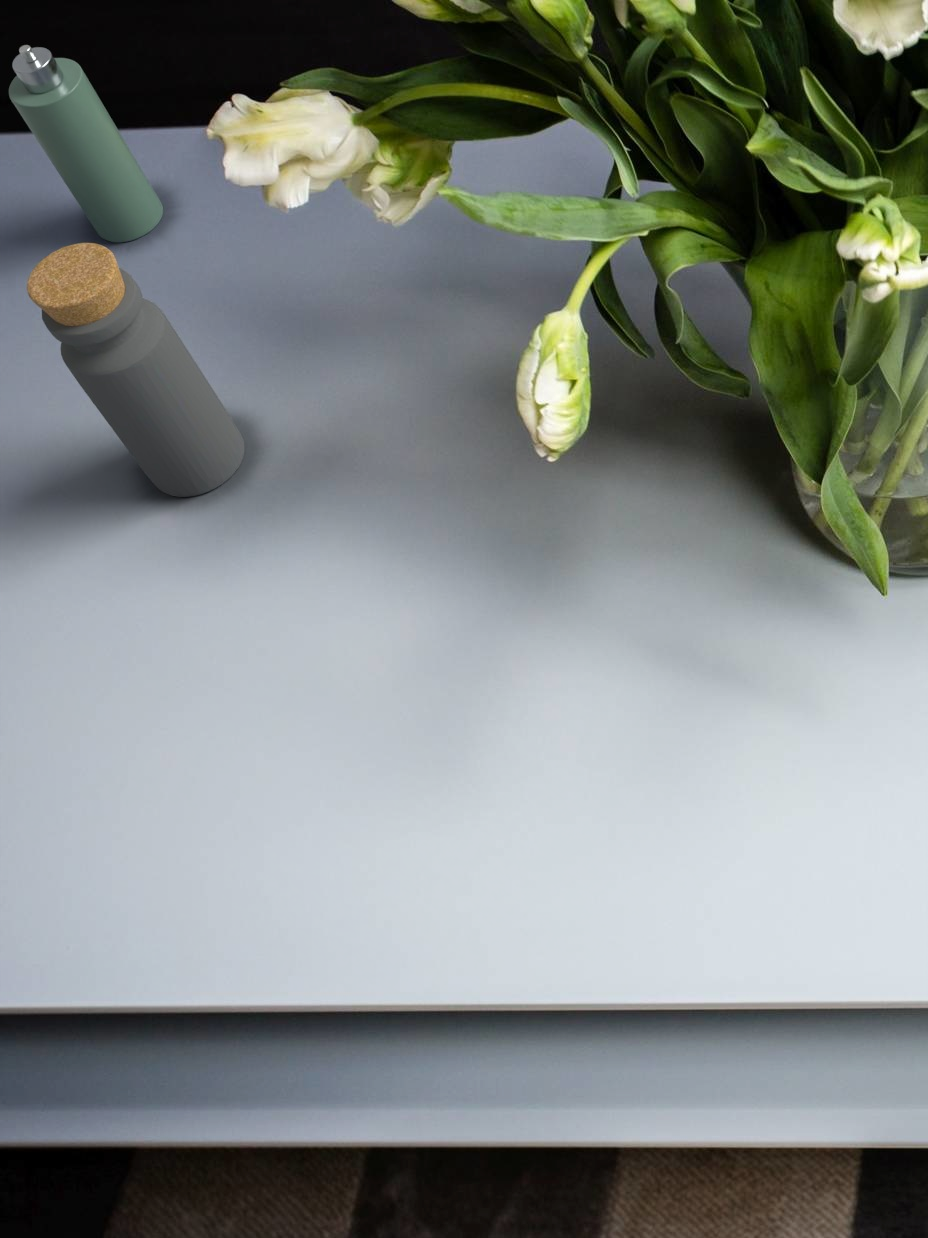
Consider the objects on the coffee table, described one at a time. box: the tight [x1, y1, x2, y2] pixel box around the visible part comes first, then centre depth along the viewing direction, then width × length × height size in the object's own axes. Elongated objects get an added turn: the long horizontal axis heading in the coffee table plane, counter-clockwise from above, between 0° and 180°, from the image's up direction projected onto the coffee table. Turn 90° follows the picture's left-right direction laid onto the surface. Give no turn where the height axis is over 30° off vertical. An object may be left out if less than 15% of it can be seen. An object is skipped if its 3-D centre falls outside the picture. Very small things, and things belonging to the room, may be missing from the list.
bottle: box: [26, 242, 246, 498], centre depth 91 cm, size 6×6×15 cm
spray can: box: [8, 44, 164, 243], centre depth 104 cm, size 5×5×13 cm
